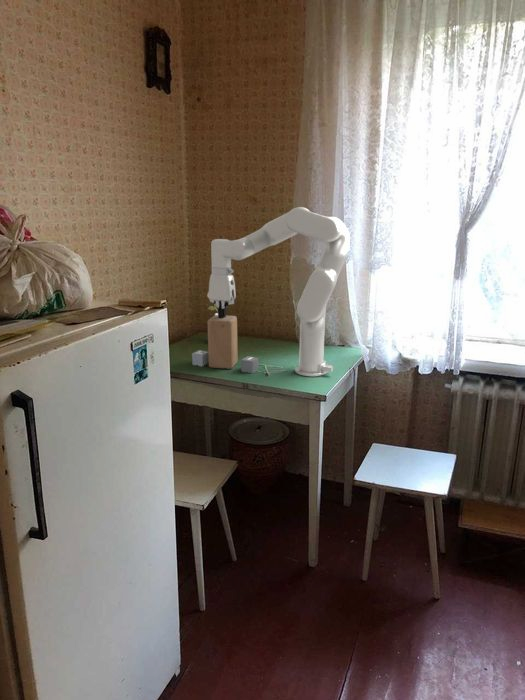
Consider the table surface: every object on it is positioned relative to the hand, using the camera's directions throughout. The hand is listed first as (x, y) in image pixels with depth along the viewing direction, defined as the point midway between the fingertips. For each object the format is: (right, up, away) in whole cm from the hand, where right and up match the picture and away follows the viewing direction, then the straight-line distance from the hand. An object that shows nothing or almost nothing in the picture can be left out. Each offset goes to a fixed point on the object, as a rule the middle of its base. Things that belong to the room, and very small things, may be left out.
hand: (222, 317), depth 209 cm
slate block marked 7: (-9, -19, +7) cm, 22 cm away
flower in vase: (-4, -9, +39) cm, 41 cm away
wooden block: (0, -19, +6) cm, 20 cm away
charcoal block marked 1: (+11, -21, -1) cm, 24 cm away
